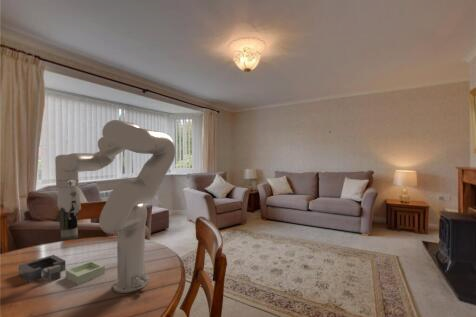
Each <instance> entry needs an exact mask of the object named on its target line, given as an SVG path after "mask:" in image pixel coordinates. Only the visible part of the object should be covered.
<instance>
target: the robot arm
mask: <svg viewBox="0 0 476 317" xmlns="http://www.w3.org/2000/svg"><path fill="white" fill-rule="evenodd" d="M97 148H98V150H99V151H97V152H95V153H94V152H93V153H89V152H88V153H85V152H75V153H69V154H59V155H56V156H55V158H54V161H55V163H54V164H55V189H56V190H57V203H56V204H57V208H58V207H59V206H60V205H61V206H60V207H59V209H61V207H62V208H64V211H65V212H67V213H68V219H69V220H67V223H68V230H70V229H74V228H77V226H78V213H79V211H81V210H82V206H81V205H82V204H81V203H82V202H81V195H80V189H79V183H80V182H79V181H80V180H79V173H80V172H82V173H83V172H95V171H99V170H102V169H104V168H106V167H107V166H109V165H110V164H112V163H113V162H114V160H115V159H116V156H117V155H119V154H120V153H122V152H124V151H126V150H127V151H130V152H133V153H136V154H143V155H144V154H146V155H152V156H151V157H149V159H147V161H146V162H145V163H144V164H143V166H142V168H141V170H140V171H139V174H138V175H137V176H136V177H134V178H128V179H124V180H122V181H120V182H118V183H117V184H115V186H114V187H113V189H112V191H111V192H110V195H109V197H108V198H107V200H106V202H105V204H104V206H103V208H102V210H101V212H100V215H99V221H98V222H99V224H98V225H99V226H100V228H101V230H102V231H103V232H104V233H106V234H118V235H117V241H116V242H117V244H116V246H117V248H116V250H117V251H116V252H117V254H116V255H117V256H116V259H117V264H116V265H117V274H116V276H117V278H116V280H114V282H113V283H112V289H113V291H114V292H116V293H121V294H124V293H125V294H126V293H132V292H135V291H138V290H141V289H143V288H145V287H146V286H147V285H148V284H149V282H150V277H149V275H148V274H147V271H145V270H146V262H145V261H146V252H145V251H146V250H145V246H146V245H145V243H146V241H145V240H146V225H147V224H146V223H147V218H148V209H147V206H146V204H145V203H148V202H150V201H151V200H152V199H153V198H154V197H155V195H156V193H157V191H158V190H159V188H160V186H161V184H162V182H163V180H164V179H165V177H166V174H168V171H169V170H170V168H171V166H172V165H173V162H174V161H175V160H174V159H175V156H176V146H175V143H174V141H173V139H172V138H171V136H170V135H168V134H167V133H164V132H161V131H157V130H151V129H146V128H141V127H140V126H138V125H137V124H135V123H133V122H128V121H124V120H120V119H112V120H110V121H108V122H107V123H105V125H103V127H102V136H101V137H100V138H99V139H98V140H97ZM70 210H73V211H70ZM70 213H72V214H70Z"/></svg>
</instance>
